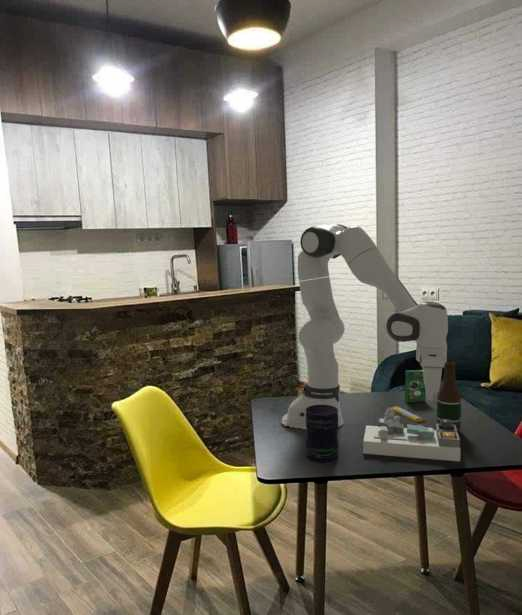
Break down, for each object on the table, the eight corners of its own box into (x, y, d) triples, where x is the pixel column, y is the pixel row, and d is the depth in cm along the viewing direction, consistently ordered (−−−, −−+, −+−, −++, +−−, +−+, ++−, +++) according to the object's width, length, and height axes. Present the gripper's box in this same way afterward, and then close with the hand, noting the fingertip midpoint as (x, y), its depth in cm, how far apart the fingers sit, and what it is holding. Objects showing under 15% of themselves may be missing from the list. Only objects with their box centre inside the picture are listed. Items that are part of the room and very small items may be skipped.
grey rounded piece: (379, 425, 178) (379, 404, 177) (396, 423, 179) (396, 402, 179) (386, 431, 173) (386, 408, 172) (403, 429, 174) (403, 406, 173)
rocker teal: (406, 433, 155) (407, 428, 155) (406, 428, 159) (407, 423, 159) (433, 437, 153) (434, 432, 152) (432, 432, 157) (433, 427, 157)
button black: (440, 430, 156) (440, 422, 155) (439, 426, 159) (440, 418, 159) (453, 431, 155) (453, 423, 154) (451, 427, 158) (452, 419, 158)
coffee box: (423, 400, 206) (423, 369, 205) (426, 402, 203) (426, 370, 202) (404, 401, 205) (404, 370, 204) (407, 403, 202) (407, 371, 201)
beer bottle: (462, 435, 166) (464, 365, 164) (438, 434, 168) (439, 364, 165) (458, 427, 174) (459, 360, 171) (435, 426, 176) (436, 359, 173)
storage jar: (335, 449, 158) (335, 404, 156) (341, 463, 148) (341, 414, 146) (304, 450, 158) (303, 405, 156) (308, 464, 148) (307, 415, 146)
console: (363, 453, 154) (363, 432, 154) (366, 436, 168) (366, 417, 167) (460, 461, 147) (460, 439, 146) (455, 443, 160) (455, 423, 159)
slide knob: (380, 438, 154) (380, 429, 154) (380, 434, 157) (380, 426, 157) (386, 438, 154) (386, 430, 153) (386, 435, 157) (386, 426, 156)
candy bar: (426, 422, 181) (426, 417, 181) (417, 424, 179) (417, 419, 179) (397, 409, 197) (398, 404, 196) (389, 411, 195) (389, 406, 195)
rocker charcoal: (377, 426, 160) (378, 421, 160) (378, 422, 164) (379, 417, 164) (402, 433, 158) (403, 428, 158) (402, 428, 162) (403, 423, 162)
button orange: (442, 444, 149) (442, 436, 149) (441, 439, 153) (441, 431, 152) (455, 445, 148) (455, 436, 148) (454, 440, 152) (454, 432, 151)
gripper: (419, 347, 163) (417, 388, 165) (421, 361, 143) (420, 408, 145) (439, 348, 161) (437, 390, 163) (445, 363, 142) (443, 410, 144)
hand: (429, 398), depth 154 cm, fingers closed
